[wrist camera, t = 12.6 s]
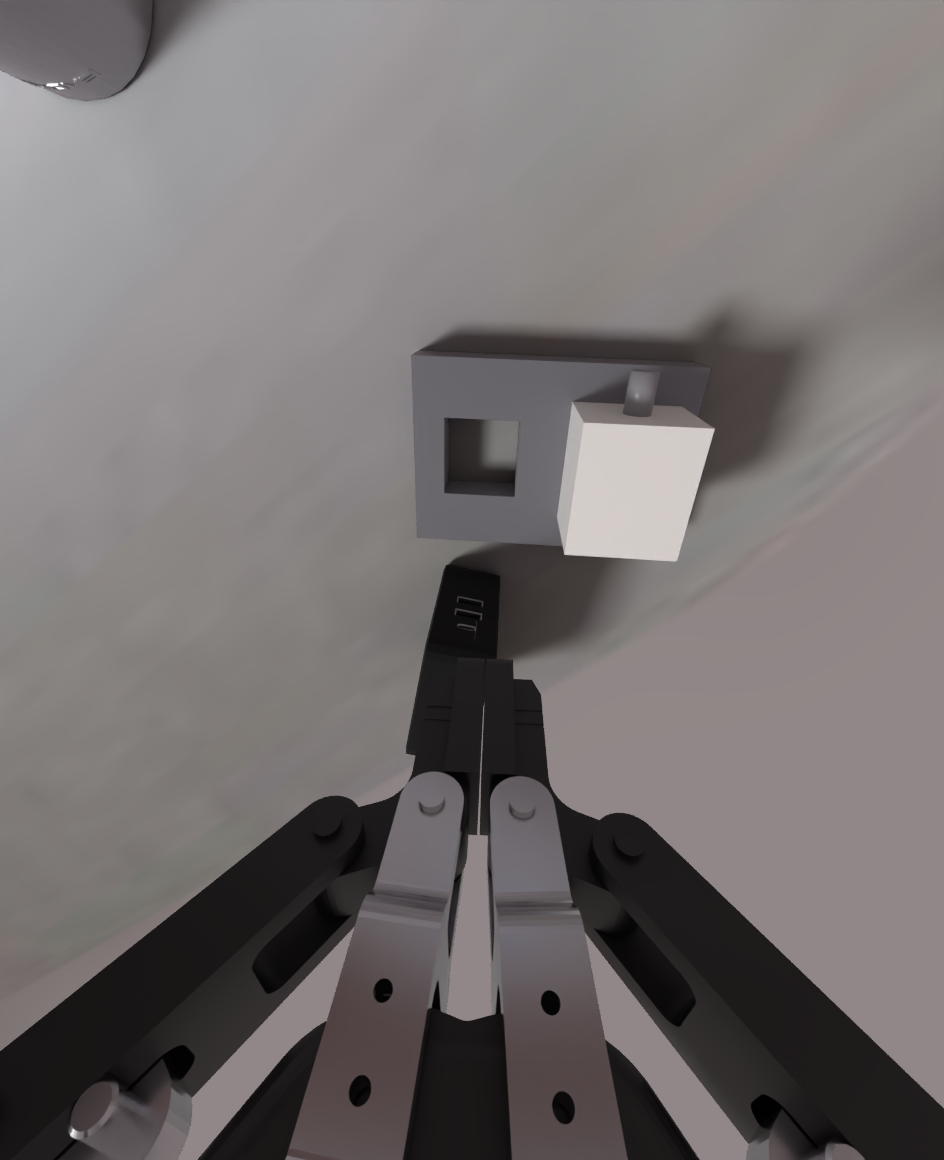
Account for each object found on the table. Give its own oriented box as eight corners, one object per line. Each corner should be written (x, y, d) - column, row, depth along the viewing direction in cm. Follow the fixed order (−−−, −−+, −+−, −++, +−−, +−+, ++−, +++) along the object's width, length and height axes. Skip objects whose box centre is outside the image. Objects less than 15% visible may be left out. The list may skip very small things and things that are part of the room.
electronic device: (501, 571, 35) (498, 660, 27) (474, 670, 41) (464, 771, 32) (446, 560, 35) (425, 645, 27) (426, 660, 40) (403, 759, 32)
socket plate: (418, 350, 28) (411, 355, 26) (696, 361, 27) (711, 368, 25) (423, 522, 34) (417, 537, 32) (652, 535, 33) (662, 552, 31)
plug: (573, 358, 27) (590, 376, 21) (680, 362, 27) (728, 382, 21) (554, 505, 32) (564, 554, 26) (645, 510, 32) (676, 561, 26)
